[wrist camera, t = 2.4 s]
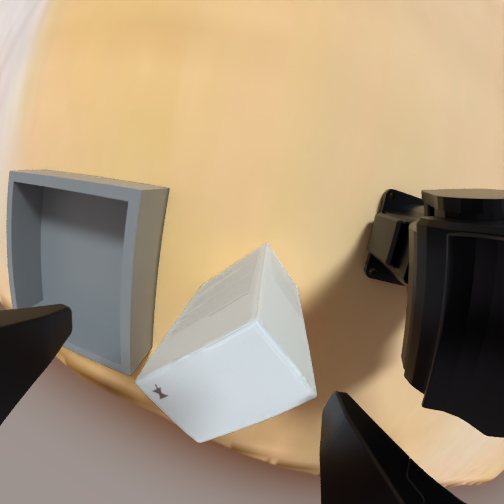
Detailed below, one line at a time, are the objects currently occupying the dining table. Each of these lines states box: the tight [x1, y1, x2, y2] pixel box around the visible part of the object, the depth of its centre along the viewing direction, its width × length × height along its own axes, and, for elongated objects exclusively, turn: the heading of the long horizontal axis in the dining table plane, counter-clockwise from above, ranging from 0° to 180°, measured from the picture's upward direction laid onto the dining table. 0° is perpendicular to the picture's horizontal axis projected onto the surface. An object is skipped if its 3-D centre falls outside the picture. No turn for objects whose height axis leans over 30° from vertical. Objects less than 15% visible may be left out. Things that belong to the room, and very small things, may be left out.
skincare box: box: [135, 243, 317, 443], centre depth 15 cm, size 6×4×12 cm
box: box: [7, 170, 169, 376], centre depth 20 cm, size 14×14×4 cm
